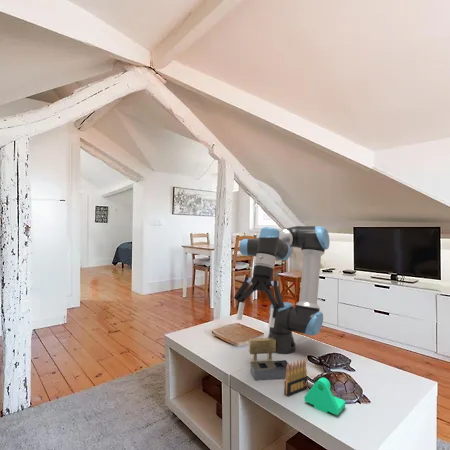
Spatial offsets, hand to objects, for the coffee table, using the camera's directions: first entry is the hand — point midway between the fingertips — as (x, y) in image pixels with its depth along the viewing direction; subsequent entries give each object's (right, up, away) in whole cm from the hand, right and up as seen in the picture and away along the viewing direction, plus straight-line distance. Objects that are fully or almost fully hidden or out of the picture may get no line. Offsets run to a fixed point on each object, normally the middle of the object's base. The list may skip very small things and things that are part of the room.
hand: (254, 323), depth 112 cm
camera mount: (+25, -28, -3) cm, 38 cm away
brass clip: (+6, -28, +29) cm, 41 cm away
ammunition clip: (+17, -28, +6) cm, 33 cm away
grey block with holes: (+9, -28, +19) cm, 35 cm away
